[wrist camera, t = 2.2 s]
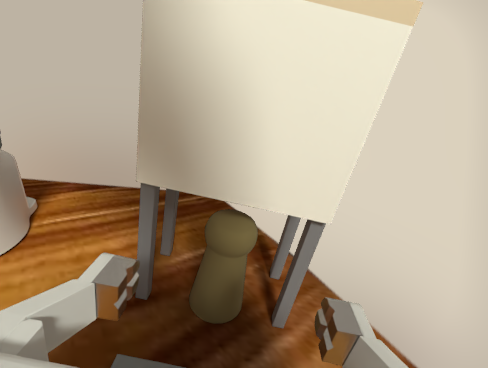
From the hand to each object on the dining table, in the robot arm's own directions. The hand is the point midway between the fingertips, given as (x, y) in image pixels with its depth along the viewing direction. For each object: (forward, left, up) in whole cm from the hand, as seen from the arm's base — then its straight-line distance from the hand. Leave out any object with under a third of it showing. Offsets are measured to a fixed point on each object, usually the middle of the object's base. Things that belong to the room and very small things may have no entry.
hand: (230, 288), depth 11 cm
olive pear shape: (-3, +12, -15) cm, 20 cm away
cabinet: (-4, +14, -15) cm, 21 cm away
